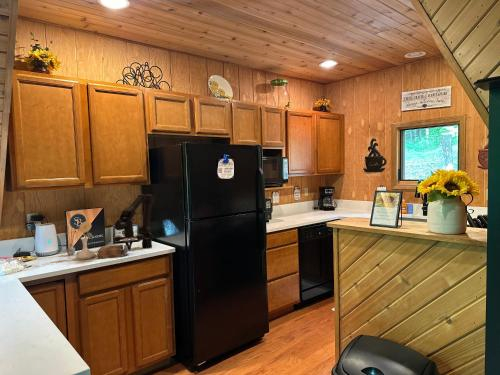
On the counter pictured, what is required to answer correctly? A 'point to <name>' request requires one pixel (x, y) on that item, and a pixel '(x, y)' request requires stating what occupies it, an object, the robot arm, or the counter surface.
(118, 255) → the housing
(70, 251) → the reed diffuser
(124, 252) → the grey jagged bowl
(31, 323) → the counter surface
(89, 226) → the flower in vase
